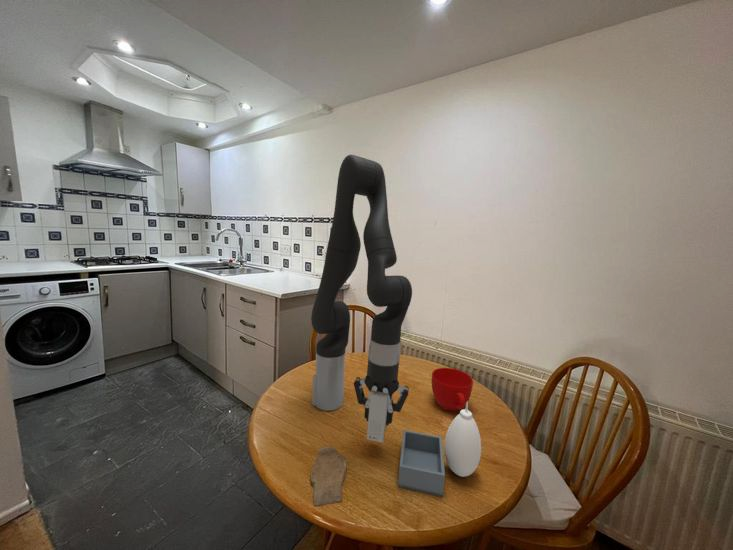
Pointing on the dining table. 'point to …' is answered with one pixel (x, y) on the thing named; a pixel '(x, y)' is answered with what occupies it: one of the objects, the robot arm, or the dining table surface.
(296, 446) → the dining table surface
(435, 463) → the bin
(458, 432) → the sauce bottle
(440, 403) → the ceramic cup
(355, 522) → the dining table surface
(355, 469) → the dining table surface
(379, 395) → the skincare box
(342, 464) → the pottery shard
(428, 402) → the dining table surface
